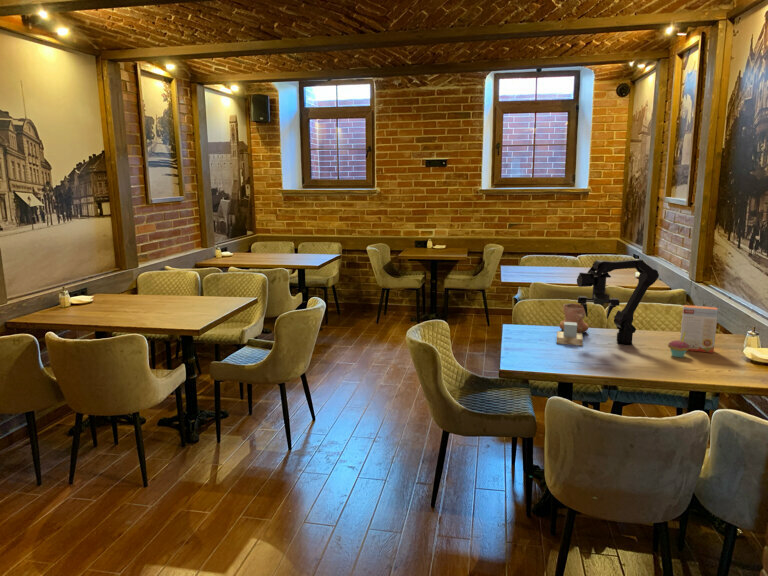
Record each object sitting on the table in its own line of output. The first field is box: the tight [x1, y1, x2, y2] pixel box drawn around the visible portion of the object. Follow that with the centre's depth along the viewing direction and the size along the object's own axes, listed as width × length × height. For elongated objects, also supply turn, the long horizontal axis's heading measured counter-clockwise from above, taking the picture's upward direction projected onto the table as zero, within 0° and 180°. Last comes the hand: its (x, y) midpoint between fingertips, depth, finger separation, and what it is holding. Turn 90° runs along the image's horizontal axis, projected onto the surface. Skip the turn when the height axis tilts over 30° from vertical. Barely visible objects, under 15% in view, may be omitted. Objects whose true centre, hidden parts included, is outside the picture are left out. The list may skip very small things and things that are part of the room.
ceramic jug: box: [559, 303, 589, 334], centre depth 294 cm, size 18×14×14 cm
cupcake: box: [667, 332, 690, 358], centre depth 253 cm, size 9×8×12 cm
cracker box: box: [679, 304, 719, 354], centre depth 261 cm, size 14×6×21 cm, turn 65°
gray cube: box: [563, 322, 577, 337], centre depth 276 cm, size 6×6×6 cm
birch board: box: [556, 330, 584, 346], centre depth 277 cm, size 12×12×3 cm
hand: (596, 318), depth 271 cm, fingers open, 9 cm apart
